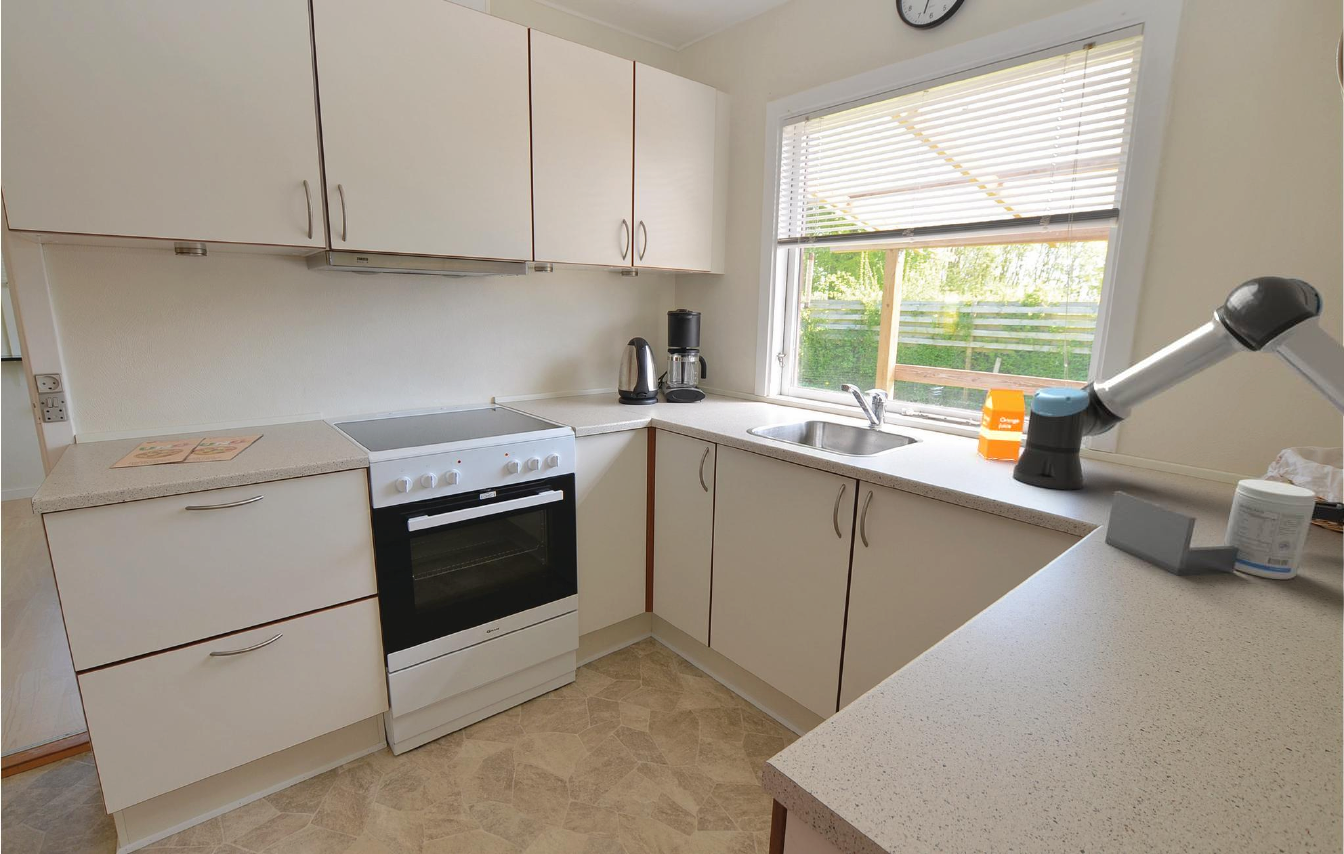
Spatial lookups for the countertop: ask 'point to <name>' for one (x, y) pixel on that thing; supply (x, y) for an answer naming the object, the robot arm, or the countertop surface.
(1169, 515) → the bracket
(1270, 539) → the supplement tub
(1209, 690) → the countertop surface
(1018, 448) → the orange juice
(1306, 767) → the countertop surface
